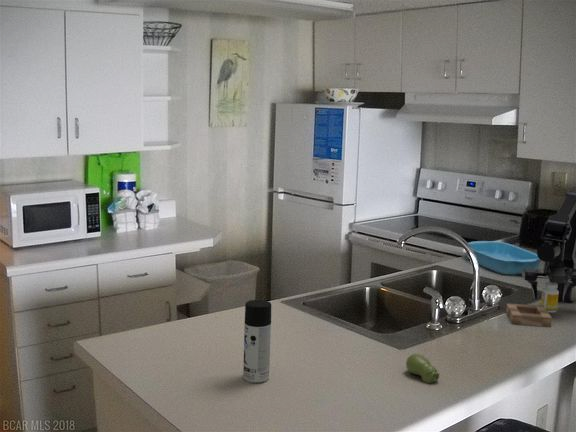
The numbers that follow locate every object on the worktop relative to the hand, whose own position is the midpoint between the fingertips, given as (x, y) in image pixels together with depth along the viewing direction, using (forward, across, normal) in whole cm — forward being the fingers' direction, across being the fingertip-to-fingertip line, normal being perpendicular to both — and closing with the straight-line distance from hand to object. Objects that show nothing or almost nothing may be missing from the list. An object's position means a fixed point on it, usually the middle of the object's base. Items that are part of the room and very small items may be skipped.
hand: (549, 300), depth 236 cm
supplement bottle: (+4, 0, 0) cm, 4 cm away
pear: (+4, -46, -63) cm, 78 cm away
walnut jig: (+4, -9, -11) cm, 15 cm away
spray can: (+4, -88, -73) cm, 114 cm away
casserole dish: (+4, -7, +57) cm, 58 cm away
